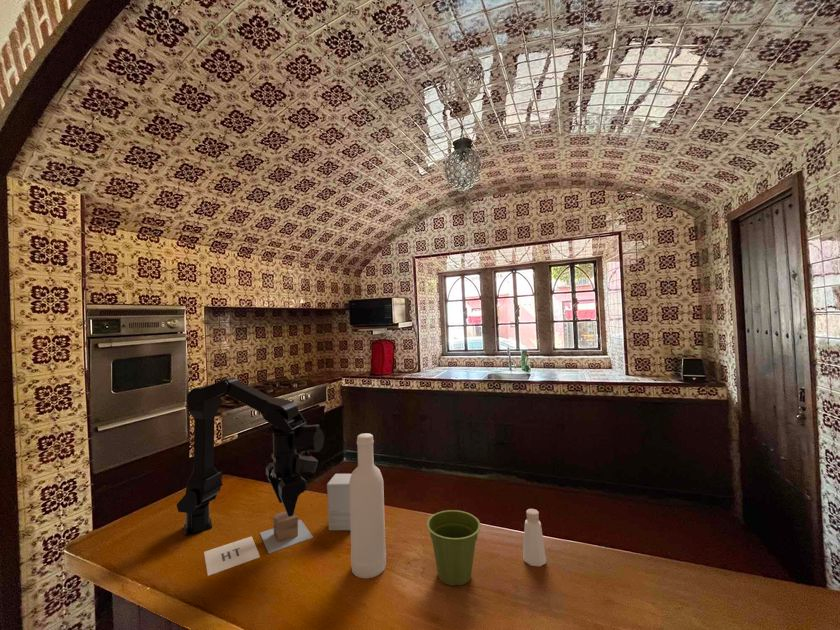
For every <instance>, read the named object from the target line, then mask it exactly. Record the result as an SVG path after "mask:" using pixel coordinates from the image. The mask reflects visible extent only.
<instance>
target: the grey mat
mask: <svg viewBox="0 0 840 630" xmlns="http://www.w3.org/2000/svg"><path fill="white" fill-rule="evenodd" d="M259 535H260V538H261V539H262V542H263V544H264V546H265V548H266V550H267V553H268V554H269V555H270V554H272V553H275V552H278V551H281V550H284V549H287V548H289V547H292V546H295V545H297V544H300V543H302V542H306V541H308V540H311V539H313V538H314V536H313V535H312V534H311V531H309V529H308V528H307V526H306V525H305V523H304V522H303V520H302V519H298V536H296V537H293V538H290V539H287V540H285V541H282V542H279V543H278V541H277V539H276V537H275V535H274V527H273V528H270V529H267V530H265V531H261V532H259Z"/></svg>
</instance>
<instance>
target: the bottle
mask: <svg viewBox="0 0 840 630" xmlns="http://www.w3.org/2000/svg"><path fill="white" fill-rule="evenodd" d="M356 438H357V439H356V445H357V467H356V468H355V469H354V470H353V471H352V472H351V474H352V475H351V478H350V482H349V489H350V526H351V530H350V563H351V572H352V574H354V576H356V577H357V578H359V579H372V578H374V577H375V578H376V577H377V576H379V575H381V574H382V573H383V572H384V571H385V569H386V566H387V551H386V525H385V519H386V518H385V497H384V496H385V495H384V494H385V493H384V490H385V488H384V487H385V485H384V478H383V475H382V472H381V470H380V469H379V467H377V466H376V464H375V463H374V462H375V461H374V459H375V458H374V443H375V440H374V435H373V434H371V433H370V432H369V433H365V432H364V433H360V434H358V435H357V437H356Z"/></svg>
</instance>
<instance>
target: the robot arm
mask: <svg viewBox="0 0 840 630" xmlns="http://www.w3.org/2000/svg"><path fill="white" fill-rule="evenodd" d="M186 394H187V395H186V404H187V410H188V413H189V414H190V415H191V416H192V418H193V420H194V421H193V428H194V429H193V470H192V473H191V474H190V476H189V478H188V480H187V483H186V488H185V494H184V495H183V496H182V497H181V499H180V500H179V501H178V502H177V504H176V508H177V512H178V513H183V514H185V523H184V524H183V530H184V533H183V534H184V536H186V537H187V536H191V535H194V534H196V533H197V534H198V533H200V532H203V531H207V530H210V529H212V528H213V522H212V518H211V517H210V512H211V511H210V502H212V501H214V500H216V499H217V495H218V493H219V492H220V491H221V488H222V486H223V481H222V480H223V472H222V471H218V470H217V469H216V467H215V416H216V414H217V412H218V411H219V409H220V407H221V404H222V403H221V402H222V399H223V398H224V397H226V396H228V397H230V398H232V399H234V400H235V401H237V402H239V403H242V404H243V405H246V406H247V407H249V408H251V409H252V410H255V411H257V412H258V413H259V414H261V416H262V418H263V419H264V420H265V421H266V422H267V423H268V424H269V425H270V427H268V429H266V431H265V432H264V433H265V435H272V450H273V451H272V453H271V459H272V460H273V462H269V463H268V464H267V465H266V466H265V475H266V476H267V477H266V478H267V479H268V482H269V483H270V485H271V487H272V490H273V492H274V494H275V497H276V498H277V500H278V502H279V504H282V505H283V507H284V509H285V511H286V512H287V514H288V516H289V517H290V516H293V514H294V512H295V509H296V506H297V502H298V498H299V497H300V495H301V494H302V493H304V492H306V491H307V490H308V483H307V482H308V481H307V480H306V479H305V478H303V477H302V476H301V475H300V474H301V472H308V473H309V472H310V474H315V473H316V471H317V467H318V463H319V460H318V459H317V458H316V457H314V456H312V455H310V452H311V453H313V452H314V453H317V452H318V453H319V452H321V450H322V449H323V447H324V443H325V435H324V432H323V430H322V429H321V427H320V424H317V423H316V424H308V422H307V420H306V419H305V417H304V416H303V415H302V413H301V412H300V411H299V408H298V405H297V403H296V402H294V401H292V400H289V399H285V398H279V397H273V396H270V395H268V394H266V393H264V392H263V391H260V390H259V389H256V388H254V387H251V385H249V384H246V383H244V382H242V381H240V380H239V379H238V378H236V377H229V378H225V379H221V380H220V381H217V382H215V383H213V384H207V385H204V386H199V387H198V386H197V387H195V388H192V389H190V391H189V392H187V393H186ZM298 452H300V453H298Z"/></svg>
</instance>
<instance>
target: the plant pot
mask: <svg viewBox="0 0 840 630" xmlns="http://www.w3.org/2000/svg"><path fill="white" fill-rule="evenodd" d="M481 525H482V523H481V522H480V520H479V518H478V517H476V516H474V515H473V514H472V513H469V512H466V511H463V510H458V509H457V510H456V509H454V510H453V509H448V510H441V511H439V512H436V513H433V514H432V515H431V516H429V517H428V519H427V521H426V528H427V530H428V531H429V534H430V539H431V541H432V547H433V552H434V558H435V564H436V565H435V566H436V571H437V576H438V578H439V580H440V581H441V582H442V583H443V584H445V585H448V586H456V585H457V586H463V585H465V584H467V583H468V582H469V581H470V580H471V577H472V574H473V573H472V572H473V565H474V563H473V562H474V557H475V549H476V548H475V547H476V542H477V540H478V533H479V532H480V530H481V528H482V526H481Z"/></svg>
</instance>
